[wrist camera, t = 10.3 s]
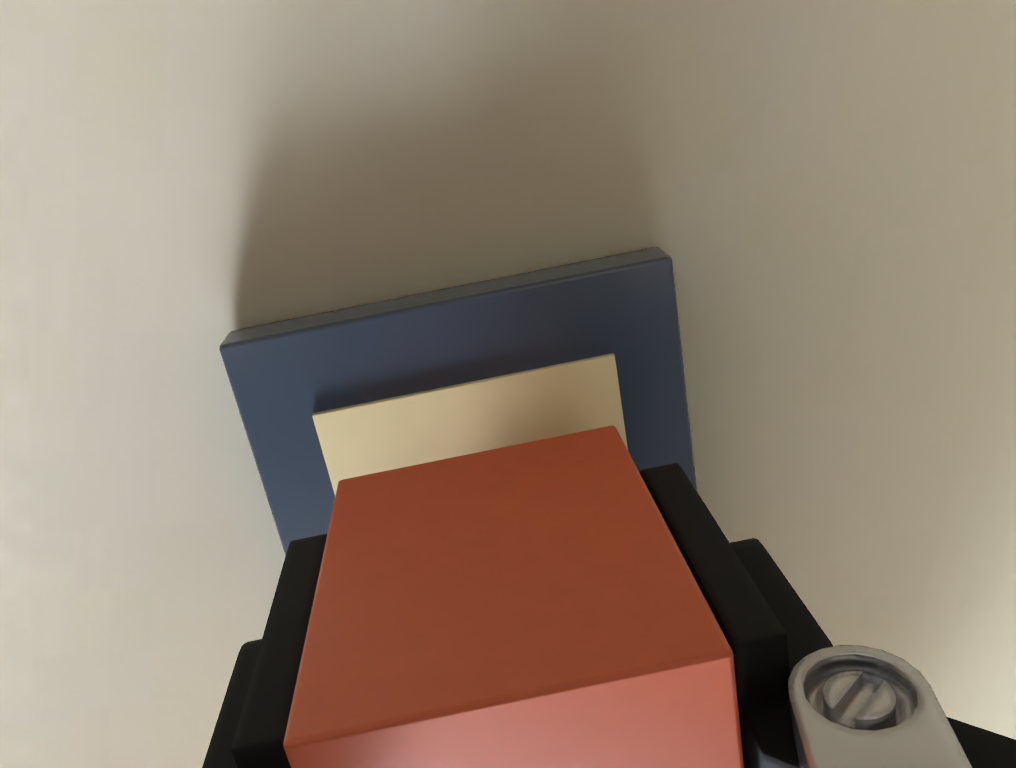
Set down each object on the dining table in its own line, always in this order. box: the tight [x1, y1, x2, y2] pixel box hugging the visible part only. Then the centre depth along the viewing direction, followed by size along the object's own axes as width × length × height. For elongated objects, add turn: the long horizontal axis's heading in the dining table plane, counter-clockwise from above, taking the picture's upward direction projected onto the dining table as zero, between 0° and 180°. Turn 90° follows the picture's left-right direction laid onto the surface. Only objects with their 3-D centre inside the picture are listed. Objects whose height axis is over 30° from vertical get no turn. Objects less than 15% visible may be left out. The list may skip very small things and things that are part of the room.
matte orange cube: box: [283, 426, 744, 768], centre depth 10 cm, size 4×4×5 cm
